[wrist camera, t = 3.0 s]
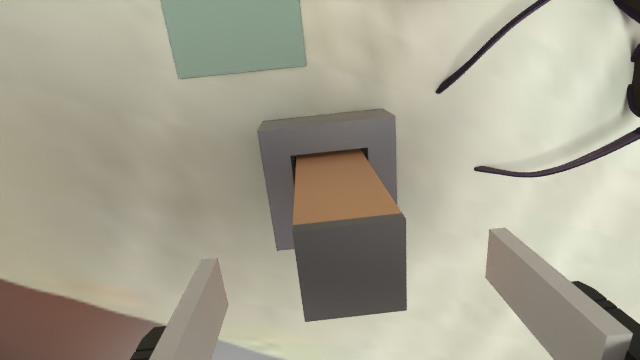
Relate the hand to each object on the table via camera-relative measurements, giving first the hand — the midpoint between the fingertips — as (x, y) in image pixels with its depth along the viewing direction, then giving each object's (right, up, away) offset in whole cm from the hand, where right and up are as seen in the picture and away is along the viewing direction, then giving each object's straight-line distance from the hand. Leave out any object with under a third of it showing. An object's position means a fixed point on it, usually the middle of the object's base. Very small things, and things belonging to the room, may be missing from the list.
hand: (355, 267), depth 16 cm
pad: (-8, +17, +8) cm, 21 cm away
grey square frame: (-1, +5, +13) cm, 14 cm away
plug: (-1, +5, +13) cm, 14 cm away
